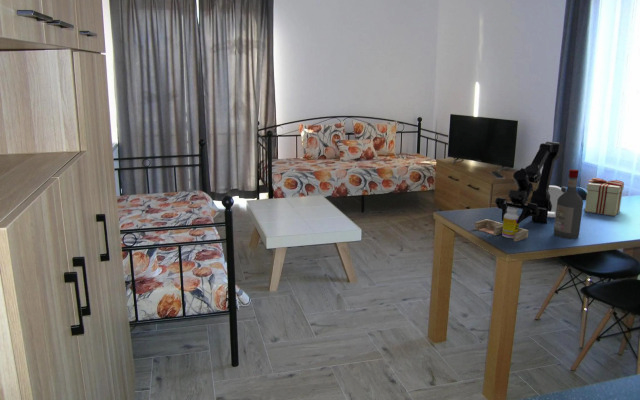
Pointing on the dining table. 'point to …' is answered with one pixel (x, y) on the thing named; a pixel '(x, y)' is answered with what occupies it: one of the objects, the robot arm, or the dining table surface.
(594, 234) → the dining table surface
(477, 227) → the rack
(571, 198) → the liquor
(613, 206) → the gift box
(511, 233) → the supplement bottle
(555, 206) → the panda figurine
